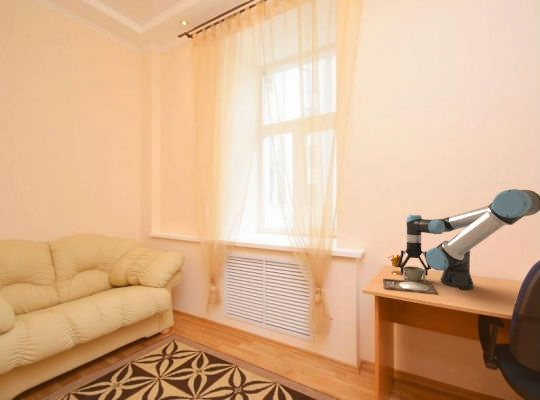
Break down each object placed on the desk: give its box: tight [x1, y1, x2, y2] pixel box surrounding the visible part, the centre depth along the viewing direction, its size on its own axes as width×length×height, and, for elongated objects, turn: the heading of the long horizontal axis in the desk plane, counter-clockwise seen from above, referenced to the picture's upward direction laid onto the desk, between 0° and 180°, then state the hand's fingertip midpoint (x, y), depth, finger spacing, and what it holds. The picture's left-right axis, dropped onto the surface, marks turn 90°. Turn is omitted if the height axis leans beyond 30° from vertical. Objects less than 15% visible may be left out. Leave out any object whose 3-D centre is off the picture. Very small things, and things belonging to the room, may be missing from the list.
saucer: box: [399, 282, 429, 291], centre depth 147 cm, size 14×14×1 cm
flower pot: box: [404, 265, 425, 282], centre depth 160 cm, size 10×10×7 cm
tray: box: [382, 278, 438, 295], centre depth 148 cm, size 24×16×2 cm, turn 71°
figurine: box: [387, 254, 406, 276], centre depth 175 cm, size 9×11×12 cm
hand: (413, 280), depth 160 cm, fingers closed on flower pot, 10 cm apart
